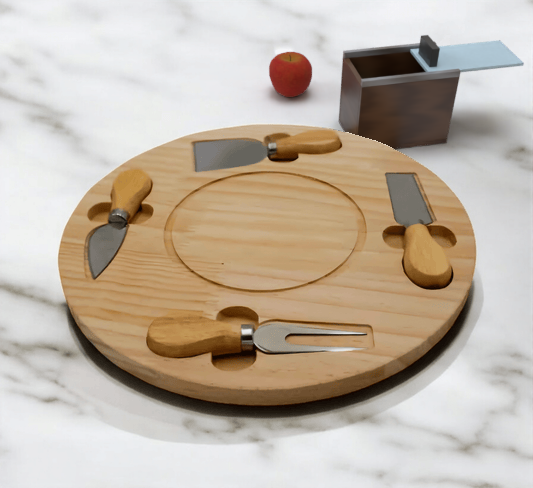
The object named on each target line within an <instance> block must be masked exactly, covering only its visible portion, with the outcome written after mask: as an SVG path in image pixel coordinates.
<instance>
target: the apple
mask: <svg viewBox="0 0 533 488" xmlns="http://www.w3.org/2000/svg"><path fill="white" fill-rule="evenodd" d="M268 75H269V79H270V82H271V85H272V88H273V89H274V90H275V92H276V93H277V94H280V95H281V96H283V97H284V98H285V97H286V98H294V97H298V96H300V95H303V94H305V92H306V91H307V90H308V88H309V87H310V84H311V83H312V79H313V66H312V63H311V62H310V60H309V59H308V57H306V56H305V55H304V54H302V53H301V52H295V51H285V52H281V53H278V54H276V55H275V56H274V57H273V58H272V59H271V60H270V63H269V66H268Z"/></svg>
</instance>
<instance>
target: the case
mask: <svg viewBox="0 0 533 488" xmlns="http://www.w3.org/2000/svg"><path fill="white" fill-rule="evenodd" d="M434 42H435V44H436V45H437V43H436V41H434ZM419 45H420V42H417V43H407V44H398V45H397V44H396V45H388V46H387V45H386V46H378V47H366V48H357V49H347V50H346V49H345V50H343V51H342V62H341V63H342V65H341V79H340V95H339V109H338V122H339V124H340V126H341V128H342V130H343V132H344V131H345V132H349V133H352V134H355V135H359V136H362V137H365V138H369V139H372V140H376V141H378V142H381V143H383V144H386V145H388V146H390V147H392V148H394V149H393V150H399V149H400V150H401V149H407V148H408V149H409V148H416V147H424V146H432V145H440V144H447V142H448V136H449V133H450V127H451V122H452V117H453V112H454V107H455V102H456V97H457V91H458V87H459V86H458V85H459V82H460V78H461V73H462V72H461V71H460V69H451V70H441V71H432V72H426V71H425V70H424V69H423V68H422V66H421V65H420V64H419V63H418V61H417V60H416V59H415V58H414V56H413V55H412V54H411V53H410V49H419ZM345 132H344V133H345Z"/></svg>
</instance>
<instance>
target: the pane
mask: <svg viewBox="0 0 533 488" xmlns="http://www.w3.org/2000/svg"><path fill="white" fill-rule="evenodd" d="M435 42H436V41H434V39H432V38H431V36H429V34H425V35H424V34H423V35H420V40H419V43H420V45H419V49H410V53H411V54H412V55H413V56H414V58H415V59H416V60H417V61H418V63H419V64H420V65H421V66H422V68H423V69H424V70H425V71H426V72H432V71H441V70H451V69H460V71H461V72H460V73H467V72H468V73H469V72H477V71H485V70H486V71H487V70H494V69H496V70H497V69H504V68H514V67H523V66H524V61H523V60H522V59H521V58H519V56H518V55H517V54H515V53H514V52H513V51H512V50H511V49H510V48H508V46H506V44H504V43H503V42H502V41H501V40H500V39H499V40H489V41H480V42H479V41H478V42H469V43H459V44H450V45H440V46H438V45H437V43H436V44H435Z"/></svg>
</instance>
